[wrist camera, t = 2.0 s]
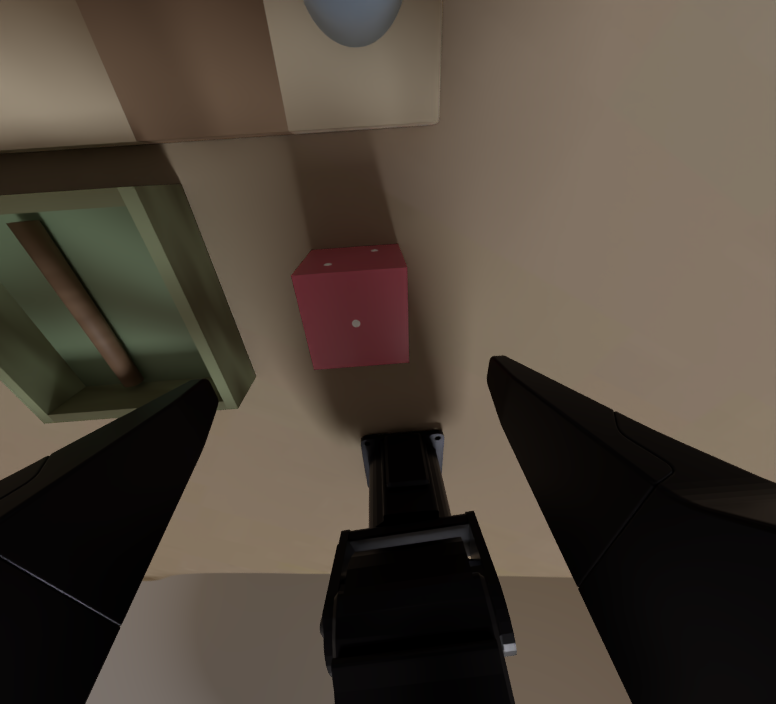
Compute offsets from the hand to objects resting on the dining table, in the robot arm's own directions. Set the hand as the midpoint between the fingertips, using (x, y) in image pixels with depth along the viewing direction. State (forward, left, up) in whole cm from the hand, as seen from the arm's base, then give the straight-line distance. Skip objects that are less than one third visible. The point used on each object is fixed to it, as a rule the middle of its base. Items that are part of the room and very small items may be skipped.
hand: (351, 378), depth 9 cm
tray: (0, +13, -8) cm, 15 cm away
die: (0, 0, -8) cm, 8 cm away
